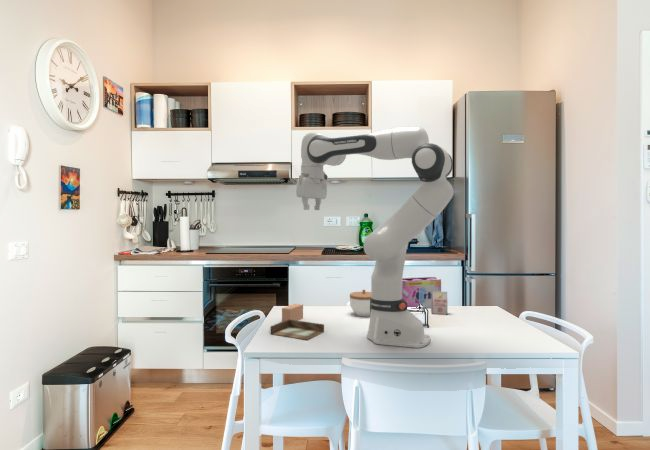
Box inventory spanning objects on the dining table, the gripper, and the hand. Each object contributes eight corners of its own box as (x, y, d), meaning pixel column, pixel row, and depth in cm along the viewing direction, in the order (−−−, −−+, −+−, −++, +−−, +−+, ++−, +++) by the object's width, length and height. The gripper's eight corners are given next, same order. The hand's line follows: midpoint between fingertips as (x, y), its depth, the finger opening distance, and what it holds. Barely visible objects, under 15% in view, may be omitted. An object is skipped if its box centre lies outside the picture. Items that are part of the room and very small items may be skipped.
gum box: (436, 303, 205) (436, 276, 205) (444, 307, 197) (444, 279, 197) (391, 306, 200) (391, 278, 200) (397, 309, 192) (398, 280, 192)
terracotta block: (303, 318, 176) (303, 304, 175) (290, 324, 167) (290, 309, 167) (295, 317, 178) (295, 303, 177) (281, 322, 169) (281, 308, 169)
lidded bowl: (349, 311, 189) (349, 287, 189) (376, 311, 189) (376, 287, 188) (349, 317, 177) (349, 292, 176) (379, 318, 176) (379, 292, 176)
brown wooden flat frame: (324, 332, 155) (324, 324, 155) (307, 340, 144) (307, 332, 144) (288, 326, 162) (288, 319, 162) (270, 334, 152) (270, 326, 152)
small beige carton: (431, 312, 187) (431, 290, 187) (446, 313, 185) (446, 291, 185) (431, 314, 183) (431, 292, 183) (447, 315, 182) (447, 292, 182)
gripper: (307, 172, 151) (307, 209, 152) (329, 176, 170) (329, 210, 170) (292, 172, 154) (292, 209, 154) (315, 177, 173) (315, 210, 173)
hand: (311, 209), depth 162 cm, fingers open, 8 cm apart
